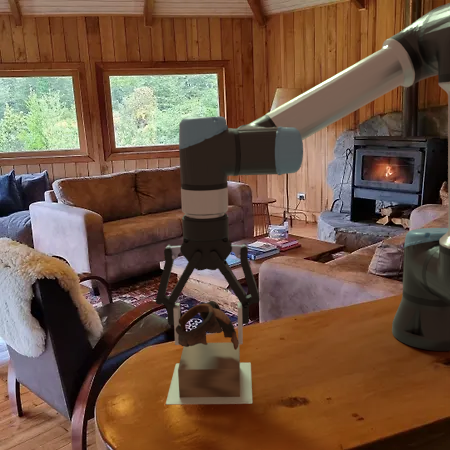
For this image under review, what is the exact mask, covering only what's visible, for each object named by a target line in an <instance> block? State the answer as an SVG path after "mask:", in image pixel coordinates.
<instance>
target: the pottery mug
mask: <svg viewBox="0 0 450 450" xmlns="http://www.w3.org/2000/svg"><path fill="white" fill-rule="evenodd" d="M198 314H199V316H200V318H202V320H203V321H202V322H201V323H200V324H199V325H198V326H196V327H193V329H190V330H184V328H185V326H186V325H187V324H188V322H189V321H190V320H192V319H193V318H195V316H198ZM179 324H180V325H181V326H180V325H178V326H177V327H176V329H175V330H176V332H177V334H178V343H179V345H178V346H181V347H184V346H185V347H189V346H194V345H196V344H200V343H202V344H204V345H207V343H208V342H207V333H208V334H209V333H210V334H221V333H222V332H223V336H224V338H225V339H227V338H230V343H233V346H234V349H235V350H236V349H237V348H238V334H237V332H236V329H235V326H234V325H233V323H232V320H231V319H230V317H228V315H227V314H226V313H225V312H224V311H223V310H221V307H220V305H219V303H218V302H216V301H214V300H210V301H208V302H205V303H199V304H197V305H194V306H193V307H190V308H189V309H188V310H187V311H185V312H184V313H183V314H182V315H181V316H180V319H179Z"/></svg>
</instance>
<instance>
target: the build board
mask: <svg viewBox="0 0 450 450" xmlns="http://www.w3.org/2000/svg"><path fill="white" fill-rule="evenodd" d="M179 363H180V362H179ZM179 363H175V366H174V368H173V369H174V370H173V374H172V378H171V381H170V385H169V389H168V393H167V398H166V401H165V405H235V404H236V405H243V404H245V405H246V404H248V405H249V404H253V389H252V388H253V385H252V364H251V362H240V397H179V380H178V368H179Z"/></svg>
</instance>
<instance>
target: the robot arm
mask: <svg viewBox="0 0 450 450" xmlns="http://www.w3.org/2000/svg"><path fill="white" fill-rule="evenodd" d="M435 76H438V79H437V81H438V86H439V87H440V88H441V89H442V90H443V91H445V92H446V94H447V104H448V106H447V109H448V112H447V115H448V117H447V121H448V122H447V124H448V125H447V132H448V133H447V137H448V138H447V142H448V143H447V144H448V145H447V147H448V148H447V149H448V151H447V152H448V154H447V155H448V156H447V158H448V159H447V160H448V161H447V165H448V169H447V172H448V173H447V178H448V179H447V183H448V184H447V186H448V189H447V191H448V192H447V193H448V196H447V197H448V199H447V200H448V205H447V208H448V209H447V210H448V211H447V212H448V213H447V215H448V216H447V218H448V220H447V223H448V226H447V227H426V228H416V229H411V230H409V231H408V232H406V234H405V238H404V239H405V240H404V245H403V268H402V269H403V270H402V271H403V272H402V295H401V301H400V303H399V304H398V305H399V306H398V307H397V310H396V312H395V315H394V318H393V320H392V323H391V324H392V326H391V327H392V328H391V333H392V336H393V337H394V338H395V339H396V340H398V341H399V342H401V343H403V344H405V345H408V346H410V347H413V348H417V349H421V350H426V351H435V352H447V351H448V352H449V351H450V2H448V3H446V4H442V5H439V6H438V7H435V8H433V9H432V10H430V11H428V12H427V13H425V14H424V15H422V16H420V17H419V18H418V19H416V20H415V21H414V22H413V23H411V24H409V25H408V26H406V27H404V29H402V30H401V31H398V32H397V33H396V34H394V35H392V36H390V37H388V38H387V39H385V40H384V41H383V42H382V47H381V49H379V50H377V51H375V52H374V53H372V54H370V55H368V56H366V57H364V58H363V59H361V60H359V61H357V62H356V63H355V64H352V65H351V66H349V67H346V68H345V69H343V70H342V71H339V72H338V73H337V74H334V75H333V76H331V77H329V78H327V79H326V80H324V81H323V82H320V83H319V84H317V85H315V86H313V87H311V88H310V89H308V90H306V91H304V92H302V93H301V94H299V95H298V96H295V97H294V98H292V99H291V100H288V101H287V102H285V103H283V104H281V105H280V106H277V107H276V108H274V109H273V110H271V111H269V112H267V113H266V114H265V115H263V116H260V117H258V118H257V119H255V120H253V121H252V122H249V123H248V124H243V125H240V126H239V127H237V128H231V127H229V126H228V125H227V119H226V118H225V116H219V115H218V116H188V117H184V118H183V119H181V121H180V122H179V126H178V127H179V128H178V132H179V133H178V136H179V137H178V143H179V144H178V152H179V153H178V154H179V171H180V198H181V213H183V216H182V217H181V219H182V220H181V221H182V243H181V244H180V245H172V244H167V245H166V247H164V250H163V255H164V265H163V270H162V273H161V278H160V281H159V285H158V289H157V293H156V297H155V304H157V305H163V306H165V307H166V310H167V311H166V314H167V323H168V325H169V326H174V327H173V328H174V329H173V330H174V332H173V333H174V345H175V346H180V345H179V343H178V334H177V332H176V330H175V329H176V327H177V326H178V325H180V324H179V319H180V318H181V303H180V302H177V300H178V298H179V296H180V295H181V293H182V291H183V289H184V288H185V286H186V284H187V283H188V281H189V278H190V277H191V275H192V274H193V272H194V270H196V271H204V270H210V271H216V270H217V269H218V271H219V273H220V274H221V275H222V276H223V277H224V279H225V281H226V282H227V284H228V285H229V287H230V288H231V290H232V291H233V293H234V295H235V296H236V298H237V300H238V302H237V339H238V344H239V345H243V344H244V343H243V342H244V340H243V338H244V337H243V334H244V333H243V331H244V330H243V325H248V324H249V323H250V306H251V305H253V304H258V303H260V299H261V298H260V292H259V288H258V287H257V286H258V285H257V283H256V279H255V276H254V273H253V270H252V267H251V264H250V261H249V257H248V255H249V247H248V246H249V245H248V244H247V243H241V244H232V242H231V240H230V231H229V230H230V228H229V224H230V223H229V215H228V214H227V212H228V211H229V185H228V179H229V178H228V177H237V176H260V175H261V176H263V175H265V176H268V175H271V176H272V175H278V176H282V175H289V174H295V173H297V172H299V170H300V169H301V167H302V165H303V159H304V142H303V141H304V140H306V139H307V138H309V137H311V136H312V135H313V136H314V135H315V134H317V133H318V132H320V131H322V130H323V129H325V128H327V127H329V126H331V125H332V124H334V123H336V122H338V121H340V120H342V119H344V118H345V117H347V116H349V115H350V114H352V113H354V112H355V111H357V110H359V109H361V108H363V107H365V106H366V105H368V104H370V103H371V102H373V101H375V100H376V99H379V98H381V97H382V96H384V95H386V94H388V93H389V92H391V91H393V90H395V89H396V88H398V87H399V86H400V87H404V88H409V87H412V86H413V85H415V84H416V83H418V82H421V81H423V80H426V79H428V78H431V77H435ZM231 253H233V254H234V255H235V257H236V259H238V260H239V259H240V260H239V261H240V265H241V269H242V272H243V275H244V278H245V281H246V285H247V288H248V291H249V293H250V294H247V292H246V291H245V289H244V288H243V286H242V285H241V283H240V281H239V280H238V278H237V277H236V275H235V273H234V272H233V270H232V269H231V266H230V265H229V262H228V261H227V258H228V257H229V256H230V255H231ZM179 254H182V256H183V258H185V259H186V261H187V264H186V266H185V268H184V270H183V271H182V273H181V275H180V277H179V279H178V281H177V282H176V284H175V286H174V288H173V290H172V291H171V293H170V295H166V293H167V291H168V285H169V282H170V277H171V273H172V270H173V266H174V261H175V260H177V259H178V257H179ZM180 326H181V325H180Z"/></svg>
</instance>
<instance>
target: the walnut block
mask: <svg viewBox="0 0 450 450" xmlns="http://www.w3.org/2000/svg"><path fill="white" fill-rule="evenodd" d="M182 347H183V348H182V352H181V356H180V360H179V368H178V380H179V397H240V363H241V359H240V358H241V357H240V356H241V354H240V350H241V349H240V344H238V348H237V349H236V350H235V349H234V346H233V343H232V342H207V345H204V344H202V343H200V344H196V345H194V346H189V347H185V346H182Z"/></svg>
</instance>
